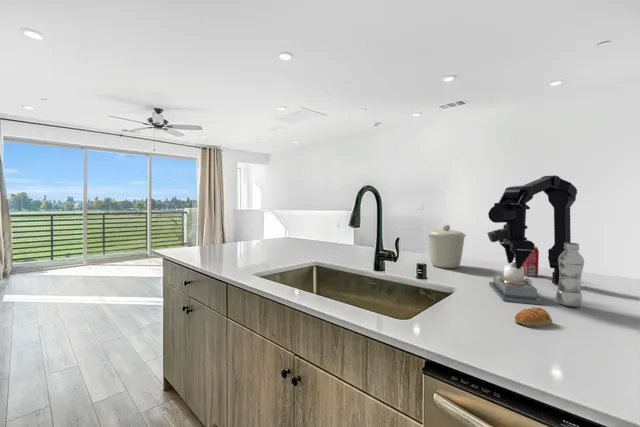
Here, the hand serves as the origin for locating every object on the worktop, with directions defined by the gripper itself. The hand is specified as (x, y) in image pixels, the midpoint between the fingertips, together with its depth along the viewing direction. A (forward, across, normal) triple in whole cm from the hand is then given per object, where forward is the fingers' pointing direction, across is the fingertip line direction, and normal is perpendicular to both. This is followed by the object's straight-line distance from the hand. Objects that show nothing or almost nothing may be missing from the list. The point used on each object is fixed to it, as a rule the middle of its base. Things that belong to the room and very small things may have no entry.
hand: (513, 265), depth 106 cm
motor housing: (+10, 0, 0) cm, 10 cm away
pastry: (+11, +27, -2) cm, 29 cm away
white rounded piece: (+5, 0, 0) cm, 5 cm away
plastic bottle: (+10, +8, +13) cm, 19 cm away
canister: (+10, -39, -19) cm, 45 cm away
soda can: (+10, -33, +15) cm, 38 cm away
